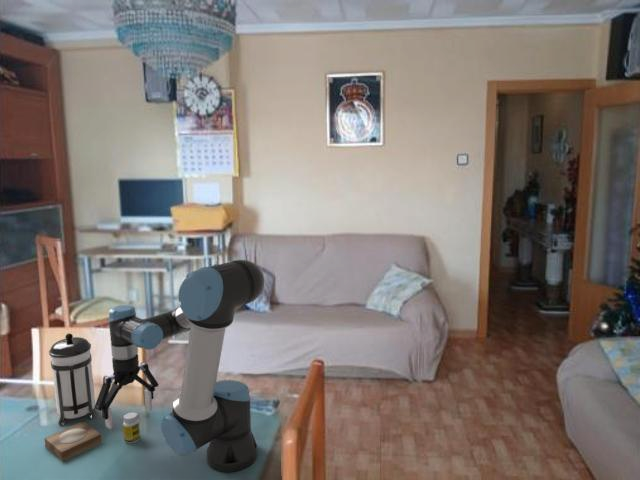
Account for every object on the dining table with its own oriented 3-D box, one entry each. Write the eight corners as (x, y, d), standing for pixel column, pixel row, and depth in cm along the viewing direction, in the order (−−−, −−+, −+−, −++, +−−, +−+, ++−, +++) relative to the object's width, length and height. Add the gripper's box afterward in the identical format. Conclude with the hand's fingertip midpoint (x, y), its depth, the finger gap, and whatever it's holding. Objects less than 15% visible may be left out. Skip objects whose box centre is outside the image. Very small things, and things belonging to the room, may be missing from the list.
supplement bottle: (134, 444, 154) (132, 420, 152) (121, 443, 155) (119, 418, 153) (143, 436, 158) (141, 412, 157) (129, 434, 159) (127, 410, 158)
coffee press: (40, 422, 167) (30, 339, 162) (79, 401, 182) (71, 323, 176) (77, 433, 160) (68, 346, 155) (115, 410, 175) (107, 330, 170)
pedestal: (101, 442, 155) (100, 433, 154) (62, 461, 146) (61, 451, 145) (83, 429, 162) (82, 421, 162) (45, 446, 153) (44, 437, 153)
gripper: (154, 340, 163) (157, 398, 167) (78, 365, 144) (84, 430, 148) (167, 346, 159) (170, 406, 163) (91, 372, 140) (97, 440, 144)
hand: (129, 418), depth 156 cm, fingers open, 13 cm apart
